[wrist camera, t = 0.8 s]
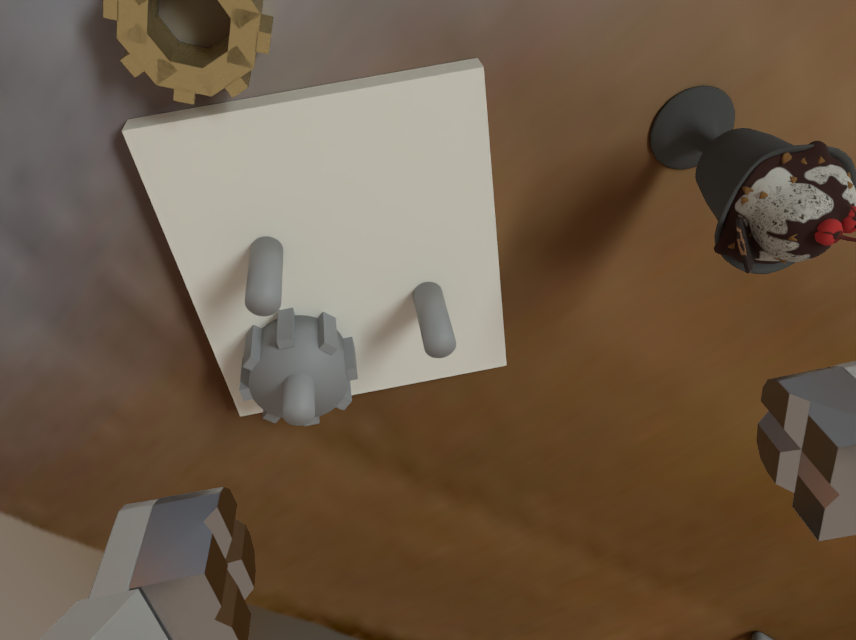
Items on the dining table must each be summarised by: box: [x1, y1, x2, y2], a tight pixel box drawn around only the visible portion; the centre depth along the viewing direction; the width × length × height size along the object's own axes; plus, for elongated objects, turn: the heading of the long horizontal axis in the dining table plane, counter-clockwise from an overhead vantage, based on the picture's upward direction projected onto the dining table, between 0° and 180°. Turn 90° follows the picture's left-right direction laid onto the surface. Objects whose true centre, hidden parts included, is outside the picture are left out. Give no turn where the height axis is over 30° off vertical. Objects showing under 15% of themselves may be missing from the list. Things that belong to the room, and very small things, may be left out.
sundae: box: [650, 86, 856, 274], centre depth 34 cm, size 7×7×15 cm
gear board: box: [122, 58, 507, 426], centre depth 39 cm, size 20×18×7 cm
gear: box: [103, 0, 273, 105], centre depth 32 cm, size 7×7×3 cm
